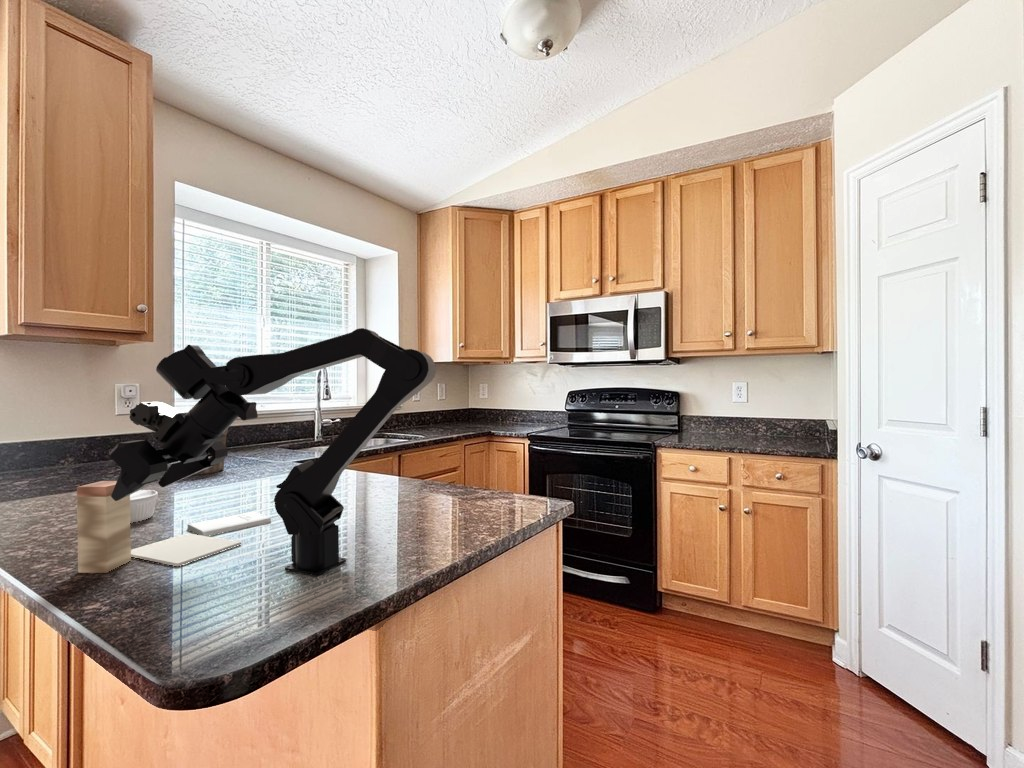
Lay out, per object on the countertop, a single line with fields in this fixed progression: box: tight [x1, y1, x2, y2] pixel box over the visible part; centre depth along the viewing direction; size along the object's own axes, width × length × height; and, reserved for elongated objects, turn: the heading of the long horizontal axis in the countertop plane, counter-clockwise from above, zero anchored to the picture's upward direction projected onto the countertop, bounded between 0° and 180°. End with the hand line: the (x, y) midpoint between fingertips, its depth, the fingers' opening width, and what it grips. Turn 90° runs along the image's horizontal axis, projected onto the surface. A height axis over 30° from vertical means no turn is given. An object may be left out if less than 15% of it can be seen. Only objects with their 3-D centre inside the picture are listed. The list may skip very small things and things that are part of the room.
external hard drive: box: [187, 511, 272, 537], centre depth 99 cm, size 2×8×12 cm
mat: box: [131, 532, 242, 567], centre depth 84 cm, size 14×11×1 cm
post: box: [76, 480, 132, 574], centre depth 77 cm, size 4×4×13 cm
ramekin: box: [130, 489, 159, 524], centre depth 104 cm, size 11×11×5 cm
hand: (138, 491), depth 77 cm, fingers open, 9 cm apart
